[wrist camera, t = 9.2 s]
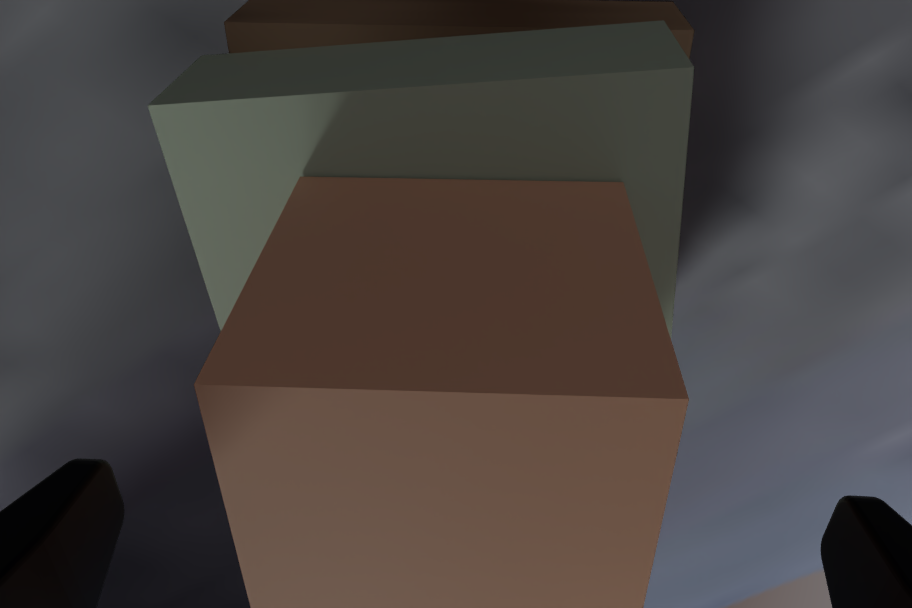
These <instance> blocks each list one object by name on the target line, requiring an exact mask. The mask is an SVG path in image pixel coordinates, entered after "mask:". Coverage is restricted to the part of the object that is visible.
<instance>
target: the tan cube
mask: <svg viewBox="0 0 912 608" xmlns="http://www.w3.org/2000/svg"><path fill="white" fill-rule="evenodd" d="M194 387H195V391H196V395H197V399H198V403H199V407H200V411H201V415H202V419H203V423H204V427H205V431H206V434H207V438H208V442H209V446H210V450H211V454H212V458H213V462H214V466H215V470H216V474H217V478H218V482H219V485H220V489H221V493H222V497H223V501H224V505H225V509H226V513H227V517H228V521H229V525H230V529H231V533H232V536H233V540H234V544H235V548H236V552H237V556H238V560H239V564H240V568H241V572H242V576H243V580H244V584H245V587H246V591H247V595H248V599H249V603H250V607H251V608H643V606H644V601H645V597H646V592H647V588H648V583H649V579H650V574H651V569H652V565H653V560H654V556H655V551H656V547H657V542H658V538H659V533H660V528H661V524H662V519H663V515H664V510H665V506H666V501H667V497H668V492H669V487H670V483H671V478H672V474H673V469H674V465H675V460H676V456H677V451H678V446H679V442H680V437H681V433H682V428H683V424H684V419H685V415H686V410H687V406H688V401H689V398H688V395H687V391H686V388H685V385H684V381H683V378H682V375H681V371H680V368H679V365H678V361H677V358H676V355H675V352H674V348H673V345H672V342H671V338H670V335H669V332H668V328H667V325H666V322H665V318H664V315H663V312H662V308H661V305H660V302H659V298H658V295H657V292H656V289H655V285H654V282H653V279H652V275H651V272H650V269H649V265H648V262H647V259H646V255H645V252H644V249H643V245H642V242H641V239H640V235H639V232H638V229H637V226H636V222H635V219H634V216H633V212H632V209H631V206H630V202H629V199H628V196H627V192H626V189H625V186H624V182H584V181H527V180H470V179H414V178H357V177H299V179H298V181H297V183H296V185H295V187H294V189H293V191H292V193H291V195H290V197H289V199H288V201H287V203H286V205H285V207H284V209H283V211H282V213H281V215H280V217H279V219H278V221H277V222H276V224H275V226H274V228H273V230H272V232H271V234H270V236H269V238H268V240H267V242H266V244H265V246H264V248H263V250H262V252H261V254H260V256H259V258H258V260H257V262H256V264H255V266H254V268H253V270H252V271H251V273H250V275H249V277H248V279H247V281H246V283H245V285H244V287H243V289H242V291H241V293H240V295H239V297H238V299H237V301H236V303H235V305H234V307H233V309H232V311H231V313H230V315H229V317H228V318H227V320H226V322H225V324H224V326H223V328H222V330H221V332H220V334H219V336H218V338H217V340H216V342H215V344H214V346H213V348H212V350H211V352H210V354H209V356H208V358H207V360H206V362H205V364H204V366H203V367H202V369H201V371H200V373H199V375H198V377H197V379H196V381H195V383H194Z"/></svg>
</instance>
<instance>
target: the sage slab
mask: <svg viewBox="0 0 912 608" xmlns="http://www.w3.org/2000/svg"><path fill="white" fill-rule="evenodd" d="M693 75H694V66H693V65H692V63H691V61H690V60H689V58H688V57H687V55H686V54H685V52H684V51H683V49H682V48H681V46H680V45H679V43H678V41H677V40H676V38H675V37H674V35H673V34H672V32H671V31H670V29H669V28H668V26H667V24H666V23H665V21H664V20H662V21H649V22H636V23H623V24H610V25H596V26H583V27H570V28H557V29H544V30H531V31H518V32H505V33H491V34H478V35H465V36H452V37H439V38H426V39H413V40H400V41H387V42H373V43H360V44H347V45H334V46H321V47H308V48H295V49H282V50H268V51H255V52H242V53H229V54H216V55H203V56H201V57H200V58H199V59H197V60H196V61H195V62H194V63H193V64H192V65H191V66H190V67H189V68H188V69H187V70H186V71H185V72H183V73H182V74H181V75H180V76H179V77H178V78H177V79H176V80H175V81H174V82H173V83H172V84H170V85H169V86H168V87H167V88H166V89H165V90H164V91H163V92H162V93H161V94H160V95H159V96H158V97H156V98H155V99H154V100H153V101H152V102H151V103H150V104H149V105H148V108H149V112H150V115H151V118H152V121H153V124H154V127H155V130H156V133H157V136H158V139H159V142H160V146H161V149H162V152H163V155H164V158H165V161H166V164H167V167H168V170H169V173H170V176H171V180H172V183H173V186H174V189H175V192H176V195H177V198H178V201H179V204H180V207H181V211H182V214H183V217H184V220H185V223H186V226H187V229H188V232H189V235H190V238H191V241H192V245H193V248H194V251H195V254H196V257H197V260H198V263H199V266H200V269H201V272H202V275H203V279H204V282H205V285H206V288H207V291H208V294H209V297H210V300H211V303H212V306H213V309H214V313H215V316H216V319H217V322H218V325H219V328H220V331H221V330H222V328H223V326H224V324H225V322H226V320H227V318H228V317H229V315H230V313H231V311H232V309H233V307H234V305H235V303H236V301H237V299H238V297H239V295H240V293H241V291H242V289H243V287H244V285H245V283H246V281H247V279H248V277H249V275H250V273H251V271H252V270H253V268H254V266H255V264H256V262H257V260H258V258H259V256H260V254H261V252H262V250H263V248H264V246H265V244H266V242H267V240H268V238H269V236H270V234H271V232H272V230H273V228H274V226H275V224H276V222H277V221H278V219H279V217H280V215H281V213H282V211H283V209H284V207H285V205H286V203H287V201H288V199H289V197H290V195H291V193H292V191H293V189H294V187H295V185H296V183H297V181H298V179H299V177H357V178H414V179H470V180H527V181H584V182H624V186H625V189H626V192H627V196H628V199H629V202H630V206H631V209H632V212H633V216H634V219H635V222H636V226H637V229H638V232H639V235H640V239H641V242H642V245H643V249H644V252H645V255H646V259H647V262H648V265H649V269H650V272H651V275H652V279H653V282H654V285H655V289H656V292H657V295H658V298H659V302H660V305H661V308H662V312H663V315H664V318H665V322H666V325H667V328H668V332H669V335H670V338H671V333H672V321H673V309H674V297H675V286H676V274H677V262H678V251H679V239H680V227H681V216H682V204H683V192H684V181H685V169H686V157H687V146H688V134H689V122H690V110H691V99H692V87H693Z"/></svg>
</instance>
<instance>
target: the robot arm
mask: <svg viewBox="0 0 912 608" xmlns="http://www.w3.org/2000/svg"><path fill="white" fill-rule="evenodd" d="M123 519H124V503H123V499H122V496H121V494H120V491H119V488H118V485H117V482H116V479H115V476H114V473H113V470H112V468H111V466H110V464H109V463H108V462H107V461H105V460H100V459H74V460H71V461H69V462H68V463H66V464H65V465H63V466H62V467H60V468H59V469H58V470H56V471H55V472H54V473H52V474H51V475H50V476H48V477H47V478H45V479H44V480H43V481H41V482H40V483H39V484H37V485H36V486H35V487H33V488H32V489H30V490H29V491H28V492H26V493H25V494H24V495H22V496H21V497H19V498H18V499H17V500H15V501H14V502H13V503H11V504H10V505H9V506H7V507H6V508H4V509H3V510H2V511H0V608H96V607H97V604H98V601H99V598H100V594H101V591H102V588H103V585H104V582H105V578H106V575H107V572H108V569H109V565H110V562H111V559H112V556H113V553H114V549H115V546H116V543H117V540H118V536H119V533H120V530H121V527H122V523H123ZM821 558H822V563H823V568H824V572H825V576H826V581H827V586H828V590H829V595H830V599H831V604H832V608H912V525H911V524H910V523H908V522H907V521H906V520H905V519H904V518H903V517H901V516H900V515H899V514H898V513H897V512H896V511H895V510H893V509H892V508H891V507H890V506H889V505H888V504H886V503H885V502H884V501H882V500H881V499H879V498H876V497H868V496H844V497H842V498H841V499H840V500H839V501H838V503H837V505H836V507H835V510H834V512H833V514H832V517H831V519H830V521H829V523H828V526H827V528H826V530H825V533H824V535H823V537H822V541H821Z"/></svg>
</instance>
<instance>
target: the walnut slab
mask: <svg viewBox="0 0 912 608" xmlns="http://www.w3.org/2000/svg"><path fill="white" fill-rule="evenodd" d="M662 20H664V21H665V23H666V24H667V26H668V28H669V29H670V31H671V32H672V34H673V35H674V37H675V38H676V40H677V41H678V43H679V45H680V46H681V48H682V49H683V51H684V52H685V54H686V55H687V57H688V58H690V52H691V47H692V41H693V35H694V29H693V28H692V27H691V25H690V24H689V23H688V21H687V20H686V19H685V17H684V16H683V15H682V13H681V12H680V11H679V9H678V8H677V7H676V5H675V4H674V3H673V2H659V1H595V0H249V1H248V2H246V3H245V4H244V5H243V6H242V7H241V8H240V9H239V10H237V11H236V12H235V13H234V14H233V15H232V16H231V17H229V18H228V19H227V20H226V21H225V22H224V25H225V31H226V37H227V43H228V49H229V53H242V52H255V51H268V50H282V49H295V48H308V47H321V46H334V45H347V44H360V43H373V42H387V41H400V40H413V39H426V38H439V37H452V36H465V35H478V34H491V33H505V32H518V31H531V30H544V29H557V28H570V27H583V26H596V25H610V24H623V23H636V22H649V21H662Z"/></svg>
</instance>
